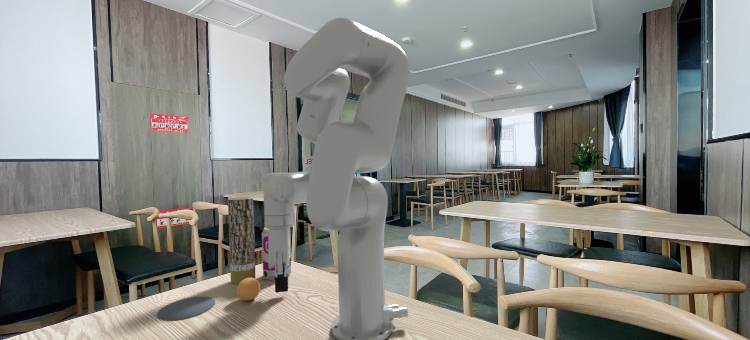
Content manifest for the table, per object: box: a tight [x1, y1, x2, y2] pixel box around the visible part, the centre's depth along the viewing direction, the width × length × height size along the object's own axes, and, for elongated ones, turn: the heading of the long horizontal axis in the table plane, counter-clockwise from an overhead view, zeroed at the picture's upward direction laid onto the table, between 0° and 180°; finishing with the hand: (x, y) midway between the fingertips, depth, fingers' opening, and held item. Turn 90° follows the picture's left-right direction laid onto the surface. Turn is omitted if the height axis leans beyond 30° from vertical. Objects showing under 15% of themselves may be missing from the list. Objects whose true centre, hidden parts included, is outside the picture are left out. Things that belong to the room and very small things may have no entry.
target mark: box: [157, 296, 216, 322], centre depth 77 cm, size 12×12×1 cm
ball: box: [236, 278, 261, 302], centre depth 80 cm, size 6×6×6 cm
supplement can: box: [261, 227, 292, 281], centre depth 97 cm, size 8×8×15 cm
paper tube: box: [227, 194, 257, 286], centre depth 93 cm, size 7×7×25 cm
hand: (281, 290), depth 82 cm, fingers closed
